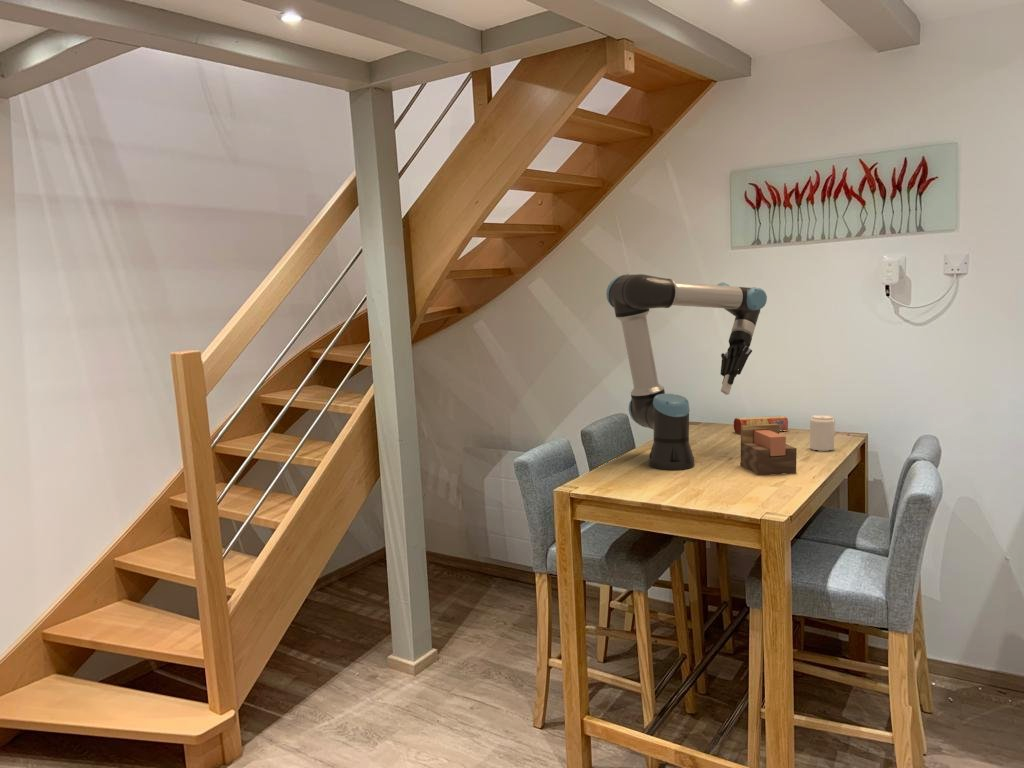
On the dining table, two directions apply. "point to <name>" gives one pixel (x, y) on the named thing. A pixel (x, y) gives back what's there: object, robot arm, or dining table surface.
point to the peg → (770, 441)
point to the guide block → (765, 453)
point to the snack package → (760, 422)
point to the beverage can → (822, 432)
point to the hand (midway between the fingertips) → (724, 392)
